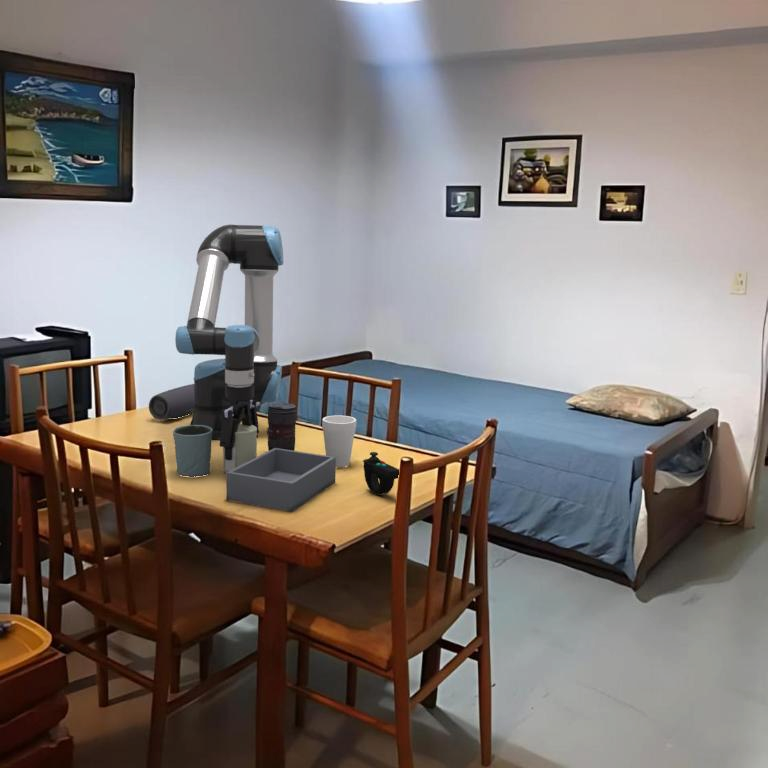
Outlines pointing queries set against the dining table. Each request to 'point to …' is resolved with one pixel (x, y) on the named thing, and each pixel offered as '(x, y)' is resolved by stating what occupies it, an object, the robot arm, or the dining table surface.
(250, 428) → the can
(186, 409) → the bluetooth speaker
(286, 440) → the camera lens
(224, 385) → the robot arm
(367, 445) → the dining table surface
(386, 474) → the controller
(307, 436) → the dining table surface
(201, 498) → the dining table surface
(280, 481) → the box
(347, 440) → the foam cup
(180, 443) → the blue-grey textured cup
